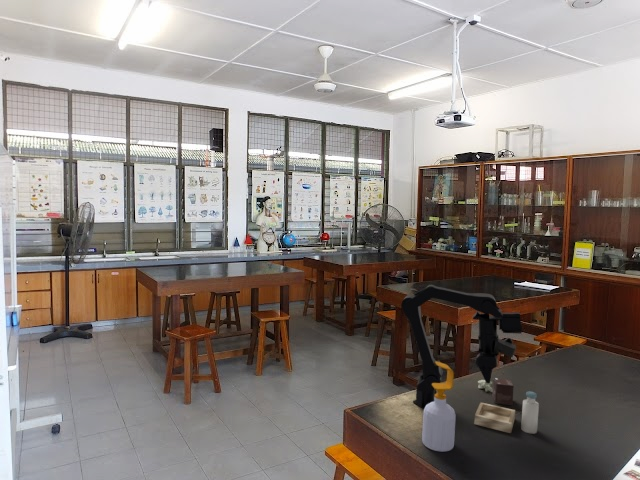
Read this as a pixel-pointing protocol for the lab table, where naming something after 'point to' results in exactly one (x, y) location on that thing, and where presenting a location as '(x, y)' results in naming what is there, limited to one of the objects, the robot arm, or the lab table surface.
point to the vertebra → (485, 385)
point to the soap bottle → (439, 417)
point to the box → (503, 391)
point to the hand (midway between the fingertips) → (489, 377)
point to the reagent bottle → (530, 413)
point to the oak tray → (495, 417)
